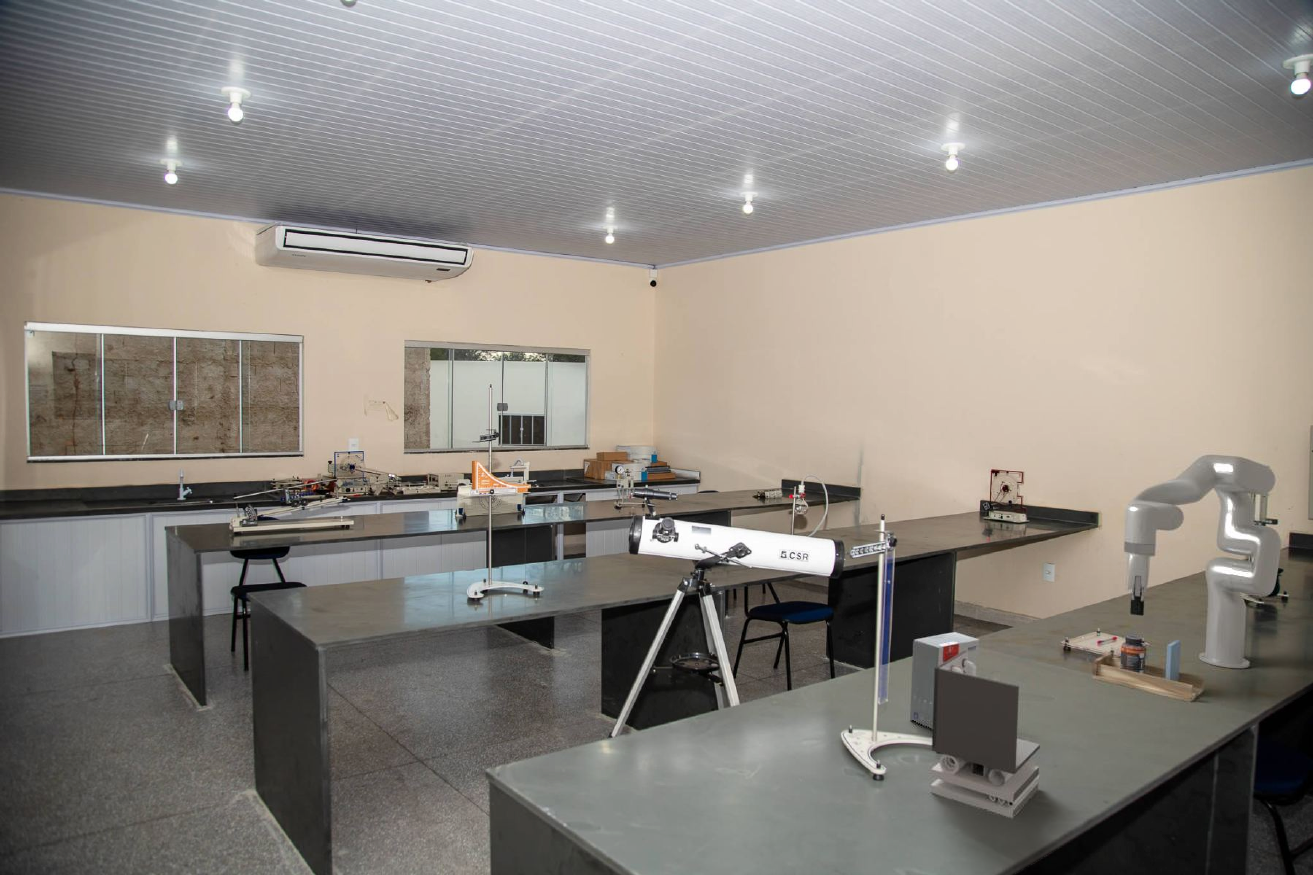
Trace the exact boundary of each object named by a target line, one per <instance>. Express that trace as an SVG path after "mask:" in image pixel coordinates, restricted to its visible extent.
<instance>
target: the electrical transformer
mask: <svg viewBox="0 0 1313 875" xmlns="http://www.w3.org/2000/svg"><path fill="white" fill-rule="evenodd" d="M967 667H970V668H971V674H968V673H967ZM1019 694H1020V685H1015V684H1010V683H1006V682H1003V681H998V680H993V679H989V678H984V677H979V676H978V675H977V676H976V666H975V665H974V663H972V662H970V661H968V651H963V652H961V653H959V654H958V655H956V656H954V657H953V658H951V659H949V660H948V661H946V662H944V663H943V664H941V665H939V666H938V667H936V668H935V672H934V702H933V729H932V734H931V736H932V737H931V738H932V739H931V751H934V752H936V753H940V754H942V755H941V756H940V758H939V760H938V763H937V764H936V765H934V766H933V767H932V768H931V772H930V777H931V778H934V779H935V781H933V782H932V783H931V784H930V793H931V794H934V793H935V795H937V796H940V797H943V796H944V797H943V798H946V797H947V798H946V799H950V800H952V799H954V800H953V801H955V800H957V802H958V801H962V802H964V803H963V804H965V803H968V804H972V805H975V806H977V807H981V808H983V809H988V810H990V811H993V812H997V813H1000V814H1002V815H1007V816H1009V817H1014V815H1016V813H1017V812H1018V811H1019V810H1020V809H1021V808H1022V807H1023V805H1024V804H1025V805H1027V803H1028V802H1029V801H1030V800H1031V799H1032V797H1034V795H1035V794H1036V793H1037V792H1038V791H1039V781H1038V780H1039V779H1040V774H1039V773H1040V772H1039V771H1040V766H1037V765H1035V764H1031V763H1028V761H1030V760H1031V759H1033V756H1034V755H1035V754H1036V753H1037V752H1038V751H1039V749H1041V744H1040V743H1036V742H1032V741H1029V740H1024V739H1020V738H1019V737H1018V724H1019V723H1018V720H1019V718H1018V717H1019ZM1037 790H1038V791H1037ZM1036 791H1037V792H1036ZM1035 792H1036V793H1035ZM1034 793H1035V794H1034ZM1033 794H1034V795H1033ZM1030 798H1031V799H1030ZM1029 799H1030V800H1029ZM1028 800H1029V801H1028ZM1027 801H1028V802H1027ZM962 802H961V803H962ZM1026 802H1027V803H1026ZM968 804H967V805H968ZM977 807H976V808H977ZM1023 808H1024V807H1023ZM1023 808H1022V809H1023ZM983 809H982V810H983ZM1022 809H1021V810H1022ZM1021 810H1020V811H1021ZM1020 811H1019V812H1020ZM1019 812H1018V813H1019ZM1016 816H1017V815H1016ZM1014 818H1015V817H1014Z"/></svg>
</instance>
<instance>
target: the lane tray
mask: <svg viewBox="0 0 1313 875" xmlns="http://www.w3.org/2000/svg"><path fill="white" fill-rule="evenodd" d="M1120 665H1121V657H1120V658H1119V657H1116V656H1114V652H1112V651H1109V652H1107V653H1105V654H1103V655H1101V656H1100V657H1097V658H1095V659H1094V660H1093V661H1092V672H1091V673H1092V680H1093V679H1094V680H1097V681H1101V682H1106V683H1110V684H1114V685H1118V686H1121V687H1126V688H1131V689H1135V690H1138V691H1143V692H1147V693H1151V694H1155V695H1159V696H1163V697H1168V698H1170V699H1171V698H1172V699H1177V700H1181V701H1185V702H1188V701H1189V702H1188V703H1191V702H1192V701H1193V700H1195V699H1196V698H1197V697H1199V696H1200V695H1201V693H1204V691H1205V686H1204V679H1205V678H1204V676H1202V675H1196V674H1194V673H1189V672H1188V673H1187V672H1183V671H1180V670H1179V682H1177V681H1172V680H1168V679H1166V667H1161V666H1156V665H1151V664H1148V663H1147V664H1146V663H1145V674H1142V673H1137V672H1133V671H1129V670H1124V669H1120ZM1190 701H1191V702H1190Z"/></svg>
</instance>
